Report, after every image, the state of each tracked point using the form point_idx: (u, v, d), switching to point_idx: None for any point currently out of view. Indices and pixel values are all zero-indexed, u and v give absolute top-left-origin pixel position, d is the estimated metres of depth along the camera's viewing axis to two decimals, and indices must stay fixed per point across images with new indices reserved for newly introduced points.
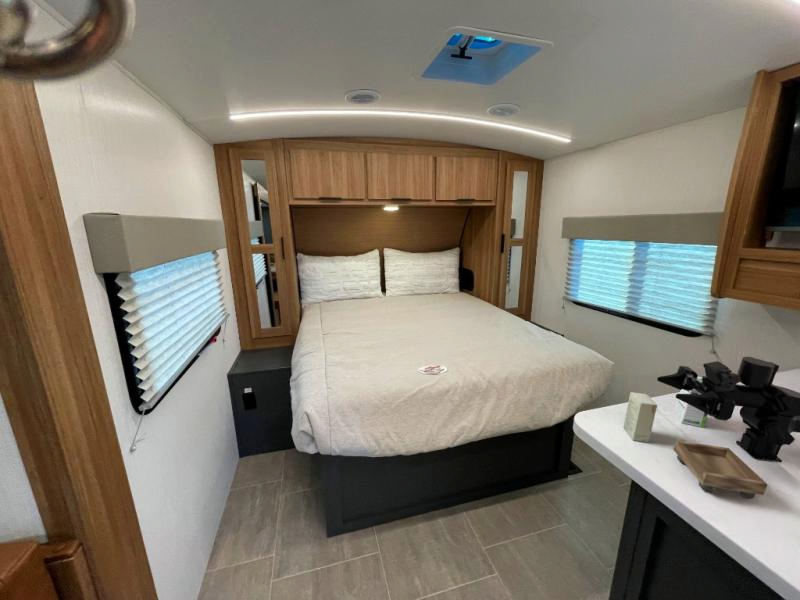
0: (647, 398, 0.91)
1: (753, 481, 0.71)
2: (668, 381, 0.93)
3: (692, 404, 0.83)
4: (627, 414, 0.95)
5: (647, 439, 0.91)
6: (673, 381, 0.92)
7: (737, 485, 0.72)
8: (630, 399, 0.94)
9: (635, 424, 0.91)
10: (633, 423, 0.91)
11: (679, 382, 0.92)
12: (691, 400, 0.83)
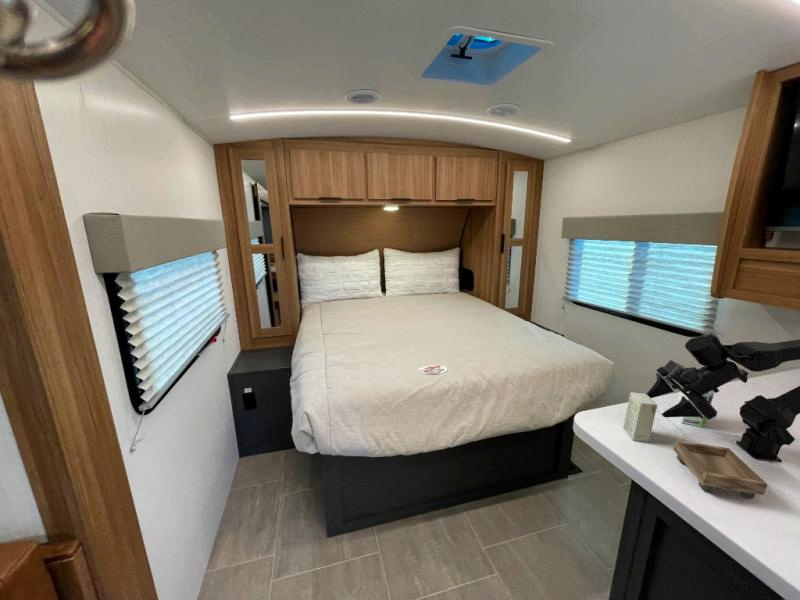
0: (647, 398, 0.91)
1: (753, 481, 0.71)
2: (656, 392, 0.94)
3: (680, 415, 0.84)
4: (627, 414, 0.95)
5: (647, 439, 0.91)
6: (660, 390, 0.94)
7: (737, 485, 0.72)
8: (630, 399, 0.94)
9: (635, 424, 0.91)
10: (633, 423, 0.91)
11: (665, 387, 0.94)
12: (677, 413, 0.85)
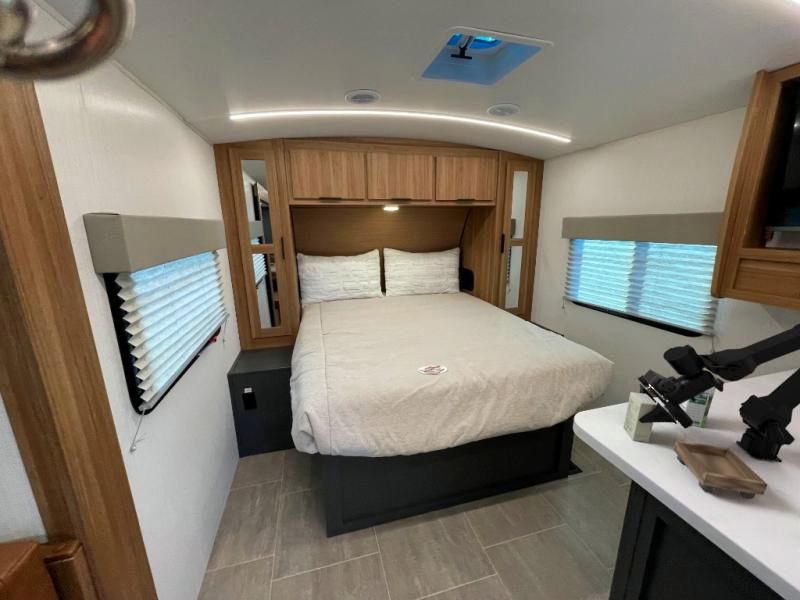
0: (647, 398, 0.91)
1: (753, 481, 0.71)
2: None
3: (656, 421, 0.87)
4: (627, 414, 0.95)
5: (647, 439, 0.91)
6: None
7: (737, 485, 0.72)
8: (630, 399, 0.94)
9: (635, 424, 0.91)
10: (633, 422, 0.91)
11: None
12: (653, 419, 0.88)
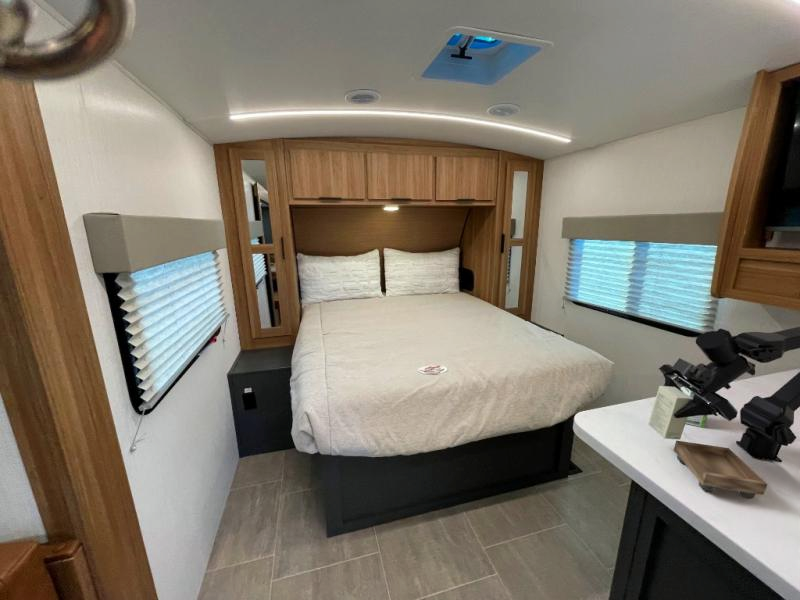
0: (679, 392, 0.83)
1: (753, 481, 0.71)
2: None
3: (693, 415, 0.79)
4: (655, 410, 0.86)
5: (679, 436, 0.83)
6: None
7: (737, 485, 0.72)
8: (659, 393, 0.85)
9: (667, 421, 0.82)
10: (666, 419, 0.83)
11: None
12: (689, 412, 0.80)
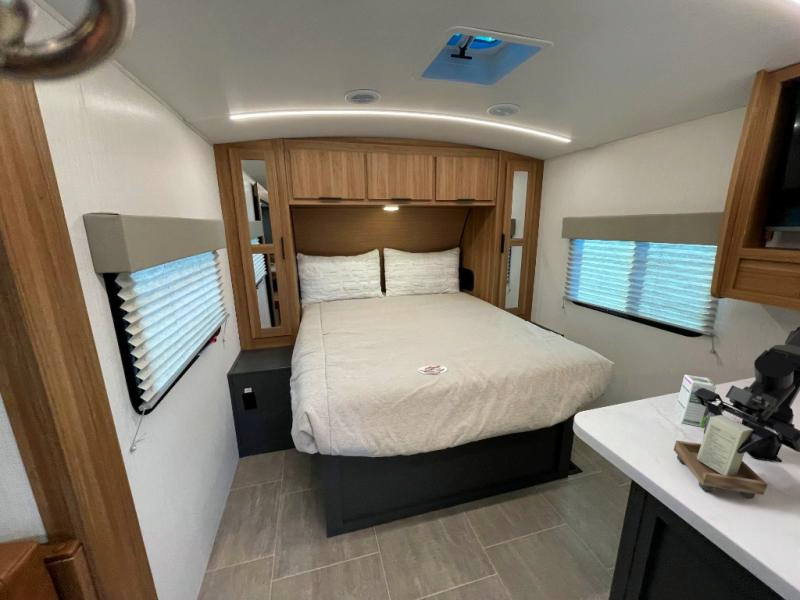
0: (733, 422, 0.75)
1: (753, 481, 0.71)
2: None
3: (756, 447, 0.72)
4: (707, 444, 0.77)
5: (737, 471, 0.75)
6: None
7: (737, 485, 0.72)
8: (712, 426, 0.76)
9: (730, 458, 0.73)
10: (726, 456, 0.74)
11: None
12: (753, 446, 0.72)
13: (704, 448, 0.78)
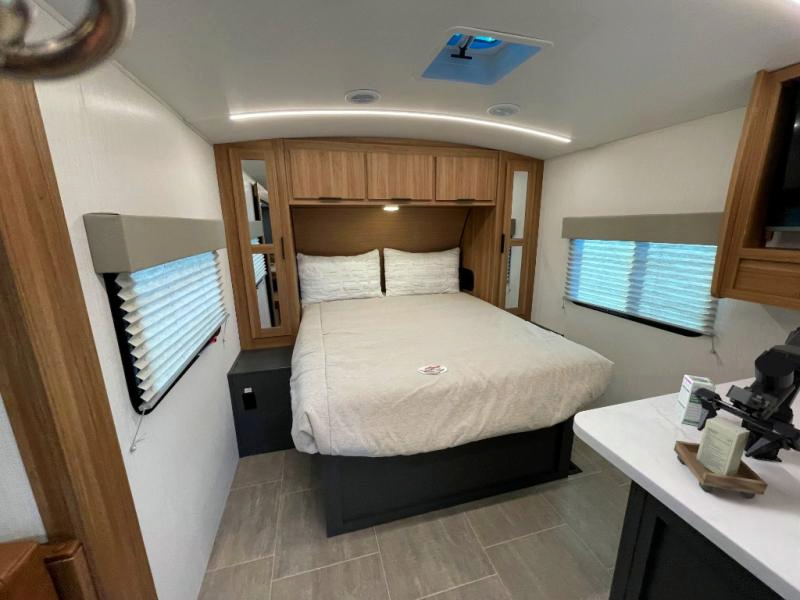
0: (730, 424, 0.75)
1: (753, 481, 0.71)
2: None
3: (764, 451, 0.71)
4: (705, 446, 0.78)
5: (736, 472, 0.75)
6: (709, 418, 0.80)
7: (737, 485, 0.72)
8: (709, 428, 0.76)
9: (727, 460, 0.73)
10: (724, 458, 0.74)
11: (712, 413, 0.80)
12: (761, 449, 0.70)
13: (702, 450, 0.78)
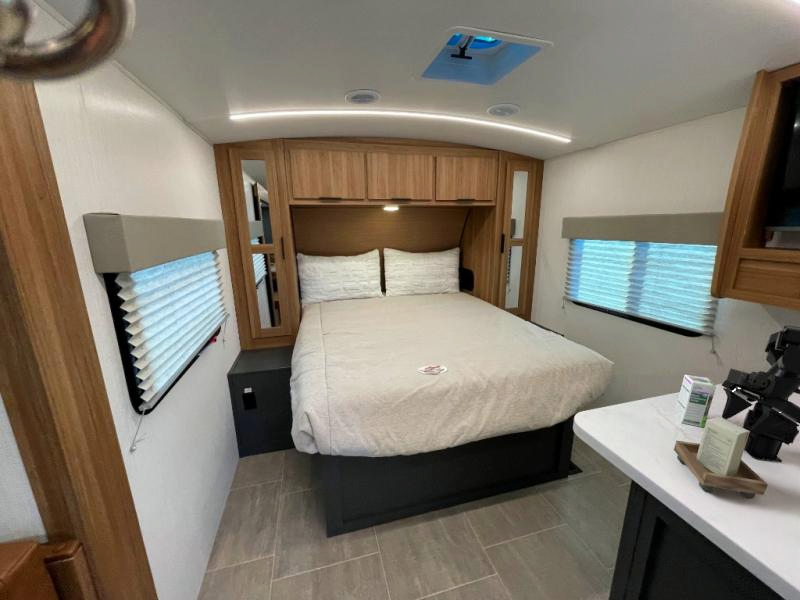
0: (730, 424, 0.75)
1: (753, 481, 0.71)
2: (733, 410, 0.84)
3: (772, 428, 0.73)
4: (704, 446, 0.78)
5: (736, 472, 0.75)
6: (736, 406, 0.84)
7: (737, 485, 0.72)
8: (709, 428, 0.76)
9: (727, 461, 0.73)
10: (724, 458, 0.74)
11: (740, 402, 0.83)
12: (766, 427, 0.74)
13: (702, 450, 0.78)
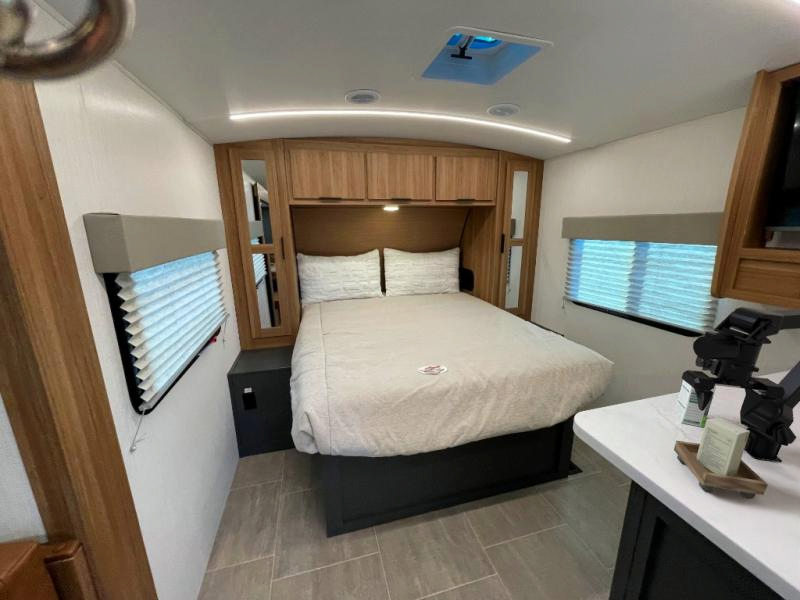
0: (730, 424, 0.75)
1: (753, 481, 0.71)
2: (748, 405, 0.81)
3: (702, 400, 0.83)
4: (704, 446, 0.78)
5: (736, 472, 0.75)
6: (749, 401, 0.81)
7: (737, 485, 0.72)
8: (709, 428, 0.76)
9: (727, 461, 0.73)
10: (724, 458, 0.74)
11: (753, 396, 0.80)
12: (701, 400, 0.83)
13: (702, 450, 0.78)
